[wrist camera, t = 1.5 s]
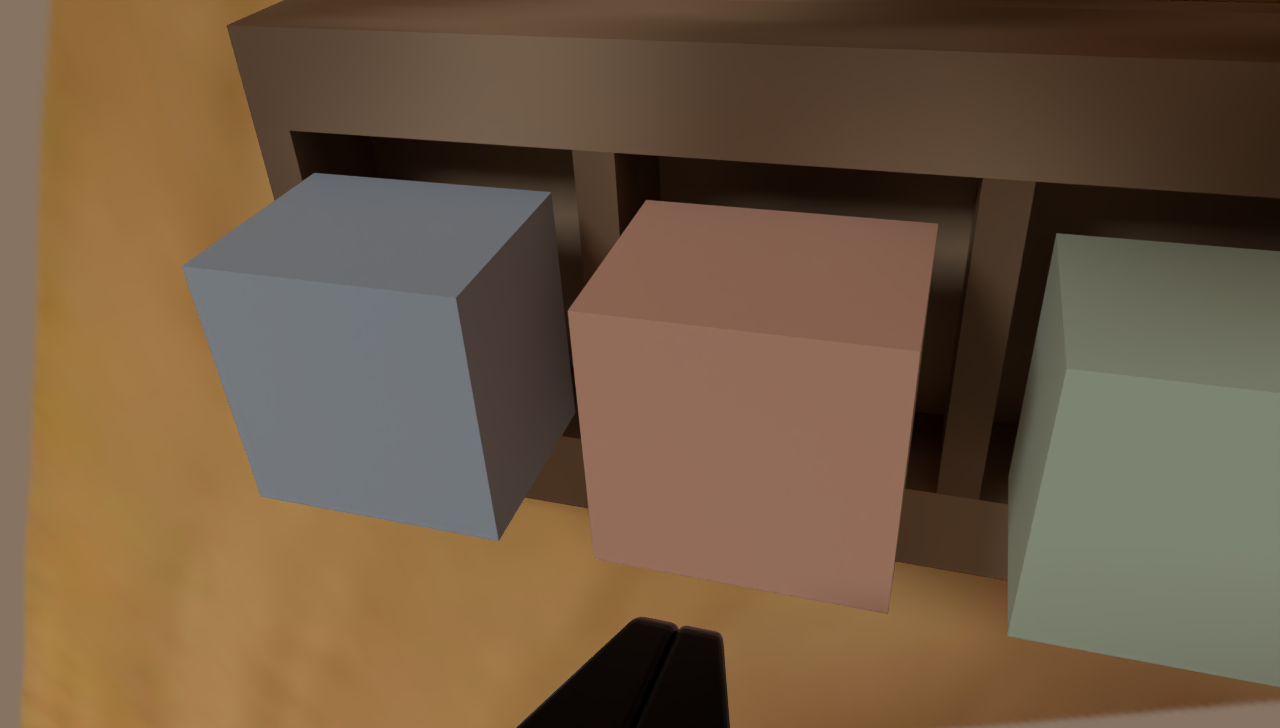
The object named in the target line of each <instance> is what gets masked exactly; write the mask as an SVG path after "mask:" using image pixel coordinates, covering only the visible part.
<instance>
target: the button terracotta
mask: <svg viewBox="0 0 1280 728" xmlns="http://www.w3.org/2000/svg"><path fill="white" fill-rule="evenodd" d="M937 230H938V224H936V223H924V222H912V221H899V220H887V219H875V218H862V217H850V216H838V215H825V214H813V213H801V212H789V211H776V210H764V209H752V208H739V207H727V206H715V205H702V204H690V203H678V202H665V201H653V200H646V201H645V202H644V204H643V205H642V207H641V208H640V209H639V211H638V212H637V214H636V215H635V216H634V218H633V219H632V221H631V222H630V224H629V225H628V226H627V228H626V229H625V231H624V232H623V233H622V235H621V236H620V238H619V239H618V240H617V242H616V243H615V245H614V246H613V248H612V249H611V250H610V252H609V253H608V255H607V256H606V257H605V259H604V260H603V262H602V263H601V264H600V266H599V267H598V269H597V270H596V272H595V273H594V274H593V276H592V277H591V279H590V280H589V281H588V283H587V284H586V286H585V287H584V288H583V290H582V291H581V293H580V294H579V296H578V297H577V298H576V300H575V301H574V303H573V304H572V305H571V307H570V308H569V310H568V319H569V328H570V338H571V347H572V357H573V366H574V376H575V385H576V395H577V404H578V413H579V423H580V432H581V442H582V451H583V461H584V470H585V480H586V489H587V498H588V508H589V517H590V527H591V536H592V546H593V555H594V559H597V560H602V561H608V562H613V563H618V564H624V565H629V566H634V567H640V568H645V569H650V570H656V571H661V572H667V573H672V574H677V575H683V576H688V577H693V578H699V579H704V580H709V581H715V582H720V583H725V584H731V585H736V586H741V587H747V588H752V589H757V590H763V591H768V592H773V593H779V594H784V595H789V596H795V597H800V598H805V599H811V600H816V601H821V602H827V603H832V604H837V605H843V606H848V607H854V608H859V609H864V610H870V611H875V612H880V613H886V614H888V610H889V603H890V596H891V588H892V581H893V573H894V566H895V559H896V551H897V544H898V536H899V529H900V522H901V514H902V507H903V500H904V492H905V485H906V477H907V470H908V463H909V455H910V447H911V439H912V431H913V423H914V415H915V407H916V399H917V391H918V383H919V375H920V367H921V359H922V351H923V342H924V334H925V326H926V318H927V310H928V302H929V294H930V286H931V278H932V270H933V262H934V254H935V246H936V238H937Z"/></svg>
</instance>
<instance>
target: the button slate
mask: <svg viewBox="0 0 1280 728" xmlns="http://www.w3.org/2000/svg"><path fill="white" fill-rule="evenodd" d="M182 268H183V271H184V274H185V277H186V280H187V283H188V286H189V289H190V292H191V295H192V298H193V301H194V303H195V306H196V309H197V312H198V315H199V318H200V321H201V324H202V327H203V330H204V333H205V335H206V338H207V341H208V344H209V347H210V350H211V353H212V356H213V359H214V362H215V365H216V367H217V370H218V373H219V376H220V379H221V382H222V385H223V388H224V391H225V394H226V397H227V399H228V402H229V405H230V408H231V411H232V414H233V417H234V420H235V423H236V426H237V429H238V432H239V434H240V437H241V440H242V443H243V446H244V449H245V452H246V455H247V458H248V461H249V464H250V466H251V469H252V472H253V475H254V478H255V481H256V484H257V487H258V490H259V493H260V496H261V497H266V498H271V499H276V500H282V501H287V502H293V503H298V504H303V505H309V506H314V507H319V508H325V509H330V510H335V511H341V512H346V513H351V514H357V515H362V516H367V517H373V518H378V519H383V520H389V521H394V522H399V523H405V524H410V525H415V526H421V527H426V528H431V529H437V530H442V531H447V532H453V533H458V534H463V535H469V536H474V537H480V538H485V539H490V540H496V541H499V540H500V538H501V536H502V535H503V533H504V531H505V530H506V528H507V526H508V525H509V523H510V521H511V520H512V518H513V516H514V515H515V513H516V511H517V510H518V508H519V506H520V505H521V503H522V501H523V500H524V498H525V496H526V495H527V493H528V491H529V490H530V488H531V486H532V485H533V483H534V481H535V480H536V478H537V476H538V474H539V473H540V471H541V469H542V468H543V466H544V464H545V463H546V461H547V459H548V458H549V456H550V454H551V453H552V451H553V449H554V448H555V446H556V444H557V443H558V441H559V439H560V438H561V436H562V434H563V433H564V431H565V429H566V428H567V426H568V424H569V423H570V421H571V419H572V418H573V416H574V414H575V407H574V397H573V388H572V379H571V370H570V360H569V351H568V342H567V333H566V323H565V314H564V305H563V296H562V286H561V277H560V268H559V259H558V249H557V240H556V231H555V222H554V212H553V203H552V194H551V192H542V191H530V190H518V189H505V188H493V187H481V186H469V185H456V184H444V183H432V182H419V181H407V180H395V179H382V178H370V177H358V176H345V175H333V174H321V173H313V174H312V175H311V176H309V177H308V178H306V179H305V180H303V181H302V182H301V183H299V184H298V185H296V186H295V187H294V188H292V189H291V190H289V191H288V192H286V193H285V194H284V195H282V196H281V197H279V198H278V199H276V200H275V201H274V202H272V203H271V204H269V205H268V206H267V207H265V208H264V209H262V210H261V211H259V212H258V213H257V214H255V215H254V216H252V217H251V218H249V219H248V220H247V221H245V222H244V223H242V224H241V225H240V226H238V227H237V228H235V229H234V230H232V231H231V232H230V233H228V234H227V235H225V236H224V237H222V238H221V239H220V240H218V241H217V242H215V243H214V244H213V245H211V246H210V247H208V248H207V249H205V250H204V251H203V252H201V253H200V254H198V255H197V256H195V257H194V258H193V259H191V260H190V261H188V262H187V263H186V264H184V265H183V266H182Z"/></svg>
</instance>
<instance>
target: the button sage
mask: <svg viewBox="0 0 1280 728" xmlns="http://www.w3.org/2000/svg"><path fill="white" fill-rule="evenodd" d="M1007 636H1008V637H1014V638H1019V639H1024V640H1030V641H1035V642H1041V643H1046V644H1051V645H1057V646H1062V647H1067V648H1073V649H1078V650H1083V651H1089V652H1094V653H1099V654H1105V655H1110V656H1115V657H1121V658H1126V659H1131V660H1137V661H1142V662H1147V663H1153V664H1158V665H1163V666H1169V667H1174V668H1179V669H1185V670H1190V671H1195V672H1201V673H1206V674H1211V675H1217V676H1222V677H1228V678H1233V679H1238V680H1244V681H1249V682H1254V683H1260V684H1265V685H1270V686H1276V687H1280V251H1269V250H1256V249H1244V248H1232V247H1219V246H1207V245H1195V244H1182V243H1170V242H1158V241H1145V240H1133V239H1121V238H1109V237H1096V236H1084V235H1072V234H1059V233H1056V238H1055V243H1054V248H1053V253H1052V259H1051V264H1050V269H1049V274H1048V279H1047V284H1046V289H1045V294H1044V299H1043V304H1042V309H1041V314H1040V319H1039V324H1038V329H1037V334H1036V339H1035V345H1034V350H1033V355H1032V360H1031V365H1030V370H1029V375H1028V380H1027V385H1026V390H1025V395H1024V400H1023V405H1022V410H1021V415H1020V420H1019V425H1018V430H1017V436H1016V441H1015V446H1014V451H1013V456H1012V461H1011V466H1010V471H1009V476H1008V603H1007Z"/></svg>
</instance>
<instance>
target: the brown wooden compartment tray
mask: <svg viewBox="0 0 1280 728" xmlns="http://www.w3.org/2000/svg"><path fill="white" fill-rule="evenodd" d="M227 28H228V32H229V36H230V39H231V43H232V47H233V50H234V54H235V58H236V61H237V65H238V69H239V72H240V76H241V79H242V83H243V87H244V90H245V94H246V98H247V101H248V105H249V109H250V112H251V116H252V120H253V123H254V127H255V130H256V134H257V138H258V141H259V145H260V149H261V152H262V156H263V160H264V163H265V167H266V171H267V174H268V178H269V182H270V185H271V189H272V192H273V196H274V200H276V199H278V198H279V197H281V196H282V195H284V194H285V193H286V192H288V191H289V190H291V189H292V188H294V187H295V186H296V185H298V184H299V183H301V182H302V181H303V180H305V179H306V178H308V177H309V176H311V175H312V174H313V173H321V174H333V175H345V176H358V177H370V178H382V179H395V180H407V181H419V182H432V183H444V184H456V185H469V186H481V187H493V188H505V189H518V190H530V191H542V192H551V194H552V203H553V212H554V222H555V231H556V240H557V249H558V259H559V268H560V277H561V286H562V296H563V305H564V314H565V323H566V333H567V342H568V351H569V360H570V370H571V379H572V388H573V397H574V407H575V414H574V416H573V418H572V419H571V421H570V423H569V424H568V426H567V428H566V429H565V431H564V433H563V434H562V436H561V438H560V439H559V441H558V443H557V444H556V446H555V448H554V449H553V451H552V453H551V454H550V456H549V458H548V459H547V461H546V463H545V464H544V466H543V468H542V469H541V471H540V473H539V474H538V476H537V478H536V480H535V481H534V483H533V485H532V486H531V488H530V490H529V491H528V493H527V495H526V496H525V497H526V498H532V499H537V500H543V501H549V502H555V503H561V504H566V505H572V506H578V507H584V508H588V498H587V489H586V480H585V470H584V461H583V451H582V442H581V432H580V423H579V413H578V404H577V395H576V385H575V376H574V366H573V357H572V347H571V338H570V328H569V319H568V310H569V308H570V307H571V305H572V304H573V303H574V301H575V300H576V298H577V297H578V296H579V294H580V293H581V291H582V290H583V288H584V287H585V286H586V284H587V283H588V281H589V280H590V279H591V277H592V276H593V274H594V273H595V272H596V270H597V269H598V267H599V266H600V264H601V263H602V262H603V260H604V259H605V257H606V256H607V255H608V253H609V252H610V250H611V249H612V248H613V246H614V245H615V243H616V242H617V240H618V239H619V238H620V236H621V235H622V233H623V232H624V231H625V229H626V228H627V226H628V225H629V224H630V222H631V221H632V219H633V218H634V216H635V215H636V214H637V212H638V211H639V209H640V208H641V207H642V205H643V204H644V202H645V201H646V200H653V201H665V202H678V203H690V204H702V205H715V206H727V207H739V208H752V209H764V210H776V211H789V212H801V213H813V214H825V215H838V216H850V217H862V218H875V219H887V220H899V221H912V222H924V223H936V224H938V230H937V238H936V246H935V254H934V262H933V270H932V278H931V286H930V294H929V302H928V310H927V318H926V326H925V334H924V342H923V351H922V359H921V367H920V375H919V383H918V391H917V399H916V407H915V415H914V423H913V431H912V439H911V447H910V455H909V463H908V470H907V477H906V485H905V492H904V500H903V507H902V514H901V522H900V529H899V536H898V544H897V551H896V559H895V561H896V562H902V563H908V564H914V565H920V566H925V567H931V568H937V569H943V570H949V571H954V572H960V573H966V574H972V575H978V576H983V577H989V578H995V579H1001V580H1006V581H1008V476H1009V471H1010V466H1011V461H1012V456H1013V451H1014V446H1015V441H1016V436H1017V430H1018V425H1019V420H1020V415H1021V410H1022V405H1023V400H1024V395H1025V390H1026V385H1027V380H1028V375H1029V370H1030V365H1031V360H1032V355H1033V350H1034V345H1035V339H1036V334H1037V329H1038V324H1039V319H1040V314H1041V309H1042V304H1043V299H1044V294H1045V289H1046V284H1047V279H1048V274H1049V269H1050V264H1051V259H1052V253H1053V248H1054V243H1055V238H1056V233H1059V234H1072V235H1084V236H1096V237H1109V238H1121V239H1133V240H1145V241H1158V242H1170V243H1182V244H1195V245H1207V246H1219V247H1232V248H1244V249H1256V250H1269V251H1280V3H1259V2H1211V1H1163V0H284V1H281V2H279V3H277V4H275V5H272V6H270V7H268V8H265V9H263V10H261V11H259V12H256V13H254V14H252V15H250V16H247V17H245V18H243V19H240V20H238V21H236V22H234V23H231V24H229V25H227Z"/></svg>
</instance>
